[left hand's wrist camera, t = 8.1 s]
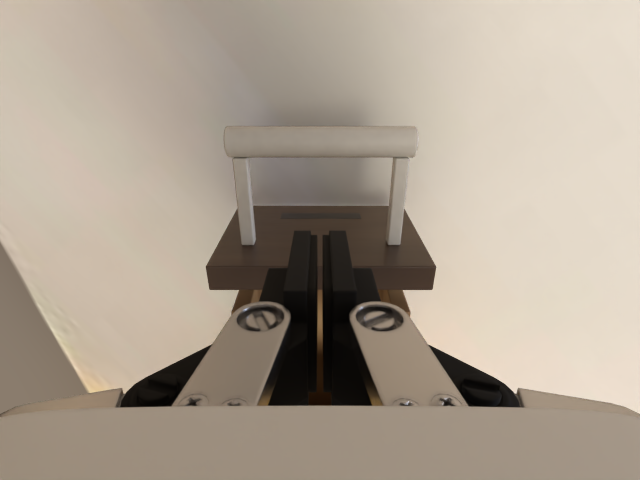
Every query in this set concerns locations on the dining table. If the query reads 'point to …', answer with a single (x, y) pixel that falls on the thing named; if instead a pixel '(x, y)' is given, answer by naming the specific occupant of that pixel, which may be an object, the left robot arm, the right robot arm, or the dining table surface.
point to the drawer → (321, 219)
